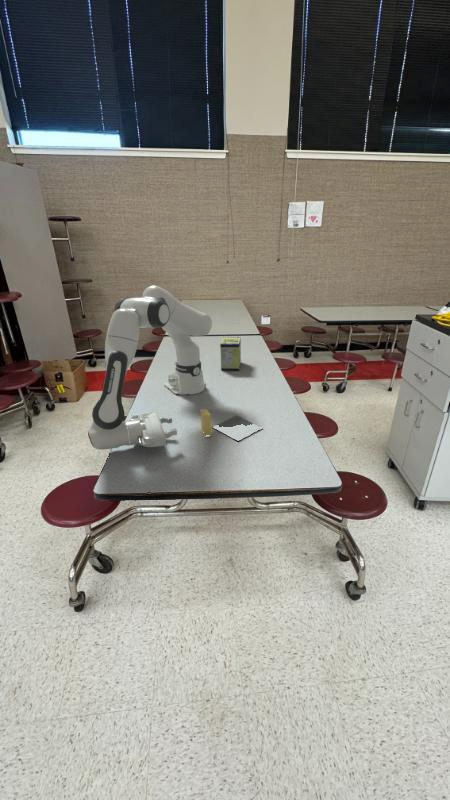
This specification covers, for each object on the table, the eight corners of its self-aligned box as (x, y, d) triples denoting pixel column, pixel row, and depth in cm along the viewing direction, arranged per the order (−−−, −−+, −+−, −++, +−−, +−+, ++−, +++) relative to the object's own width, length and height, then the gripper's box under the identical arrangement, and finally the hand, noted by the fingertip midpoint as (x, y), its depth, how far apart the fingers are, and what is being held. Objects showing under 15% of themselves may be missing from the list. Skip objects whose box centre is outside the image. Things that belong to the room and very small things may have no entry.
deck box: (205, 437, 137) (204, 415, 133) (201, 431, 142) (200, 409, 138) (211, 436, 138) (210, 414, 134) (207, 430, 142) (206, 408, 138)
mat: (211, 427, 144) (211, 427, 144) (236, 416, 152) (236, 415, 152) (238, 442, 134) (238, 441, 134) (263, 428, 142) (263, 427, 142)
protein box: (240, 362, 214) (240, 336, 208) (239, 371, 200) (239, 344, 194) (223, 361, 215) (223, 336, 209) (220, 371, 201) (220, 344, 195)
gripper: (138, 438, 120) (179, 431, 123) (133, 412, 137) (168, 406, 141) (140, 454, 122) (180, 447, 126) (135, 426, 140) (170, 420, 144)
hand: (174, 425), depth 134 cm, fingers open, 8 cm apart
